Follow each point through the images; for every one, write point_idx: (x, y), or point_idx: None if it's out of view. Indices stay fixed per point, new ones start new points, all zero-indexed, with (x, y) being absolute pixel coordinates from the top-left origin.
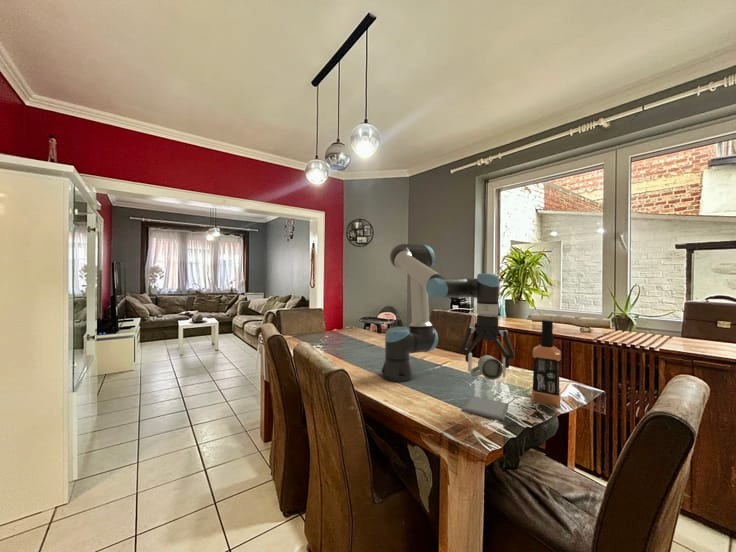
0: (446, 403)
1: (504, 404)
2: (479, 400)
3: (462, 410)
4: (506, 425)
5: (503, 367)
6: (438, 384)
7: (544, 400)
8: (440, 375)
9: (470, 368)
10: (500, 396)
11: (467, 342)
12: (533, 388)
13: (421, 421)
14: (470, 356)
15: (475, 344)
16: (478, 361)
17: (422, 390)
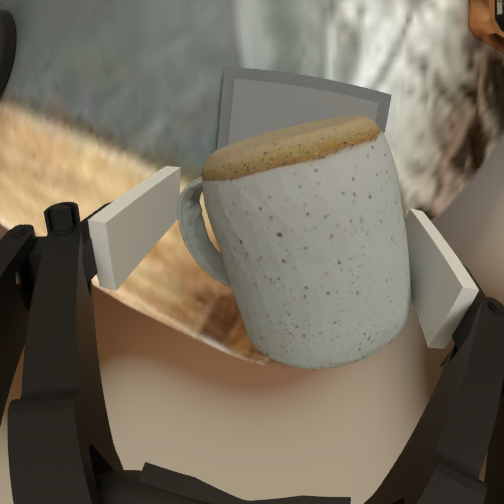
0: (152, 173)
1: (374, 111)
2: (267, 108)
3: None
4: None
5: (415, 298)
6: (88, 15)
7: None
8: None
9: (171, 216)
10: (354, 4)
11: (8, 336)
12: (502, 21)
13: (140, 308)
14: (125, 273)
15: (92, 362)
16: (206, 210)
17: (59, 108)
